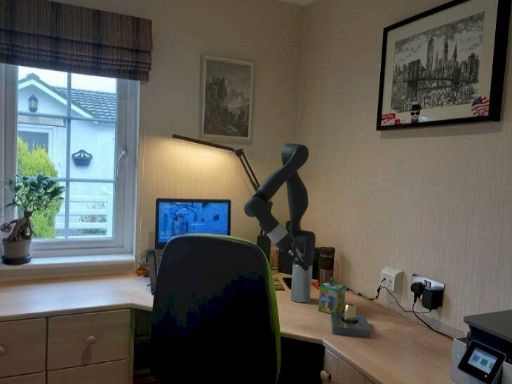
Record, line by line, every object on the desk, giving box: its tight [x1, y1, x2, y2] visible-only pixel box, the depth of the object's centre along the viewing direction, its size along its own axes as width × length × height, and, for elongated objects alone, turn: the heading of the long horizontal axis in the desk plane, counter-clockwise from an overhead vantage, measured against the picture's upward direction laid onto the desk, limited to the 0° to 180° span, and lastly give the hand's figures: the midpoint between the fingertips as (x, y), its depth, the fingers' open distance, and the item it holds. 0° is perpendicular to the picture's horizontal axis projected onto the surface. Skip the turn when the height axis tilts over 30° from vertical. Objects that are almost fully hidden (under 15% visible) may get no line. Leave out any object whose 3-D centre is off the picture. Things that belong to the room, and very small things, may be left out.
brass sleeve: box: [344, 302, 357, 324], centre depth 164 cm, size 4×4×10 cm
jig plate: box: [330, 312, 372, 339], centre depth 164 cm, size 16×14×3 cm
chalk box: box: [318, 276, 347, 315], centre depth 183 cm, size 9×9×15 cm
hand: (307, 267), depth 168 cm, fingers open, 8 cm apart
